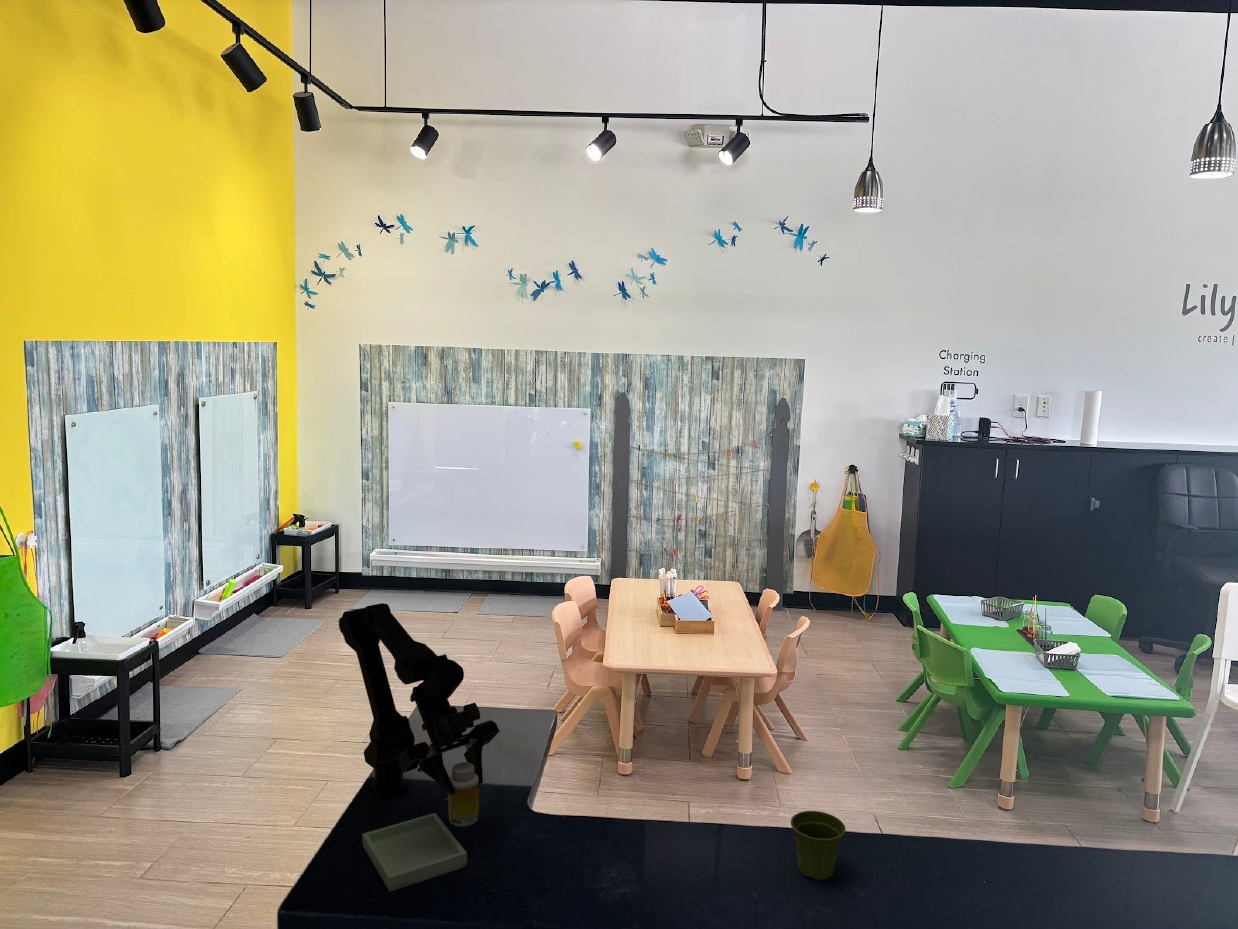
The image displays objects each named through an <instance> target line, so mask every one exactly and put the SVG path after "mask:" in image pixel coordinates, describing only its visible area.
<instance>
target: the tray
mask: <svg viewBox="0 0 1238 929" xmlns="http://www.w3.org/2000/svg"><path fill="white" fill-rule="evenodd" d="M362 848H363V849H364V851H365V853H366V852H367V853H366V854H367V856H368V857H369V858H368V859H371V860H370V861H371V863H372V864H373V867H374V868H375V870H376V872H377V873H378V875H379V876H380V878H381V880H382V882H383V883H384V885H385V887H386V888H387V890H388V892H389V893H390V892H394V891H397V890H399V889H402V888H406V887H408V886H412V885H415V884H419V883H421V882H423V881H427V880H429V879H432V878H435V877H439V876H442V875H445V874H448V873H451V872H454V871H457V870H460V869H462V868H466V867H467V866H468V852H467V851H466V850H465V849H464V847H463V846H462V845H461V844H460V842H458V840H457V839H456V837H455V836H454V835H453V834H452V832H451V831H450V830H449V828H448V827H447V826H446V825H445V823H444V822H443V821H442V819H441V818H440V817H439V816H438V814H437V813H436V812H433V813H429V814H427V815H423V816H419V817H416V818H412V819H410V820H406V821H402V822H399V823H396V824H392V825H389V826H385V827H381V828H378V829H374V830H371V831H367V832H365V833H362ZM465 866H466V867H465Z"/></svg>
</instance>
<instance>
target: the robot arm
mask: <svg viewBox="0 0 1238 929" xmlns="http://www.w3.org/2000/svg"><path fill="white" fill-rule="evenodd" d="M341 615H342V616H341V617H340V618H339V619H338V629H339V631H340V633H341V634H342V636H343V639H344V642H345V644H346V645H347V646H348V647H349V648H351V649H352V650H353V651H354V652H355V653H356V656H357V661H358V664H359V669H360V671H361V676H362V678H363V684H364V687H365V691H366V692H365V693H366V695H367V699H368V702H369V706H370V711H371V714H372V718H373V720H372V723H371V726H370V729H369V733H368V734H369V741H370V742H369V743H368V744H367V746H366V748H365V749H364V750H363V757H364V763H367V764H368V765H369V767H371V768H372V769H373V770H374V779H375V780H374V781H370V783H369V786H370V787H371V788H372V790H373V792H374V793H375V794H376V796H377V797H378V798H381V797H385V796H389V795H393V794H398V793H401V792H405V791H408V790H409V789H410V786H409V785H408V784H407V782H406V781H405V780H404V774H405V773H407V772H411V771H414V770H416V769H417V772H418V773H421V772H423V773H424V774H425V775H427V776H428V777H429V778H431V779H433V781H435V782H436V783H437V784H438V785H439V786H440V787H441V788H442V789H444V791H445V792H447V794H448V793H449V794H450V795H453V794H454V793H455V792H454V788H453V785H452V782H451V780H450V778H449V777H450V775H449V774H448V771H447V769H446V768H445V765H444V759H443V754H444V753H446V752H450V751H452V750H454V749H458V748H462V747H464V748H465V750H466V751H465V752H463V756H464V758H465V760H466V761H465V762H467V763H471V764H473V765H474V771H475V772H474V773H475V774H476V775H477V776H478V778H479V786H480V785H482V784H483V783H484V777H483V776H484V775H483V774H484V773H483V762H482V761H483V759H482V758H483V748H484V746H487V745H488V744H490V743H491V741H492V740H493V739H494V738H495V737H496V736H497V735H498V734H499V733H500V729H499V726H498V724H497V723H496V722H495V721H493V720H492V719H490V720H487V721H484V722H481V723H477V724H475V721H477V720H478V721H479V720H480V719H481V712H480V709H479V706H478V705H477V704H476V702H471V703H467V704H465V705H463V710H462V711H458V709H457V707H456V706H455V705H453V706H452V705H451V704H450V702H449V698H450V697H451V696H452V695H453V694H454V692H455V691H456V690H457V688H458V687H460V686H461V684H462V682H463V681H464V678H465V672H464V668H463V667H462V666H461V665H460V664H459V663H458V662H457V661H455V660H453V659H450V658H448V656H447V654H446V653H444V654H440V655H438V654H436V653H435V651H434V650H433V649H431V648H430V647H429V646H428V645H427V644H425V643H423V642H420V641H416V640H414V639H413V638H412V636H411V635H410V634H409V633H408V632H407V630H406V629H405V628H404V627H403V625H402V624H401V623H400V622H399V620H398V619H397V618H396V617H395V615H394V614H393V613H392V612H391V608H390V606H389V604H388V603H385V602H384V603H383V602H381V603H377V604H376V603H375V604H371V605H366V606H365V607H361V608H357V609H351V610H346V611H344V612H343V613H342V614H341ZM380 642H381V643H382V644H383V646H384V647H385V648H386V650H388V652H389V654H390V655H392V658H393V659H394V665H393V669H394V671H395V674H396V676H397V678H398V679H399V680H400V681H401V683H402V684H404V685H410V684H414V683H418V682H420V683H419V684H418V685H417V686H413V687H412V692H411V694H410V698H409V700H410V703H413V702H414V703H415V704H416V708H417V710H418V712H419V715H420V717H421V720H422V722H423V724H422V725H421V729H422V731H424V732H425V731H426V732H427V733H426V734H427V736H428V738H429V741H430V745H429V744H428V743H427V742H426V741H422V742H419V743H416V744H415V741H416V739H415V735H414V732H413V730H412V728H411V724H410V720H409V718H408V717H407V715H403V714H401V713H400V712H398V710H397V708H396V703H395V701H394V697H393V693H392V689H391V684H390V682H389V678H388V675H387V671H386V668H385V663H384V659H383V656H382V651H381V649H380ZM468 729H471V730H470V731H469V732H467V730H468ZM466 732H467V733H466ZM463 733H465V734H463Z"/></svg>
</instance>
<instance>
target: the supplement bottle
mask: <svg viewBox="0 0 1238 929" xmlns="http://www.w3.org/2000/svg"><path fill="white" fill-rule="evenodd" d="M451 770H452V771H451V775H449V778H450V780H451V782H452V785H453V788H454V792H455V793H454V794H453V795H450V794H449V793H448V792H447V799H448V800H447V807H448V809H447V810H448V813H447V814H448V821H449V823H450V824H452V825H453V826H456V827H468V826H471V825H473V824H475V823H476V822H477V821H478V819H479V817H480V793H479V792H480V789H479V787H480V785H479V778H478V776H477V775H476V774H475V773H474V772H475V771H474V765H473V764H471V763H467V761H465V762H464V761H463V762H462V761H461V762H458V763H456V764H454V765H453V766H452V768H451Z"/></svg>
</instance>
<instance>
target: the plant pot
mask: <svg viewBox="0 0 1238 929" xmlns="http://www.w3.org/2000/svg"><path fill="white" fill-rule="evenodd" d="M790 826H791V828H792V830H793V834H794V836H795V845H796V855H797V857H796V858H797V865H798V866H797V868H798V870H799V872H800V873H801V874H802V875H803V876H804V877H806V878H808V877H810V878H813V879H814V880H818V881H822V880H827V879H830V878H831V877H832V876H833V875H834V872H835V868H836V862H837V858H838V852H839V847H840V843H841V841H842V840H843V837H844V836H845V833H846V829H847V828H846V826H845V824H844V823H843V821H842V820H841V819H840V818H838V817H836V816H835V815H833V814H830V813H827V812H824V811H819V810H803V811H799V812H797V813H795V814H794V815H793V816H792V817H791V819H790Z"/></svg>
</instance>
